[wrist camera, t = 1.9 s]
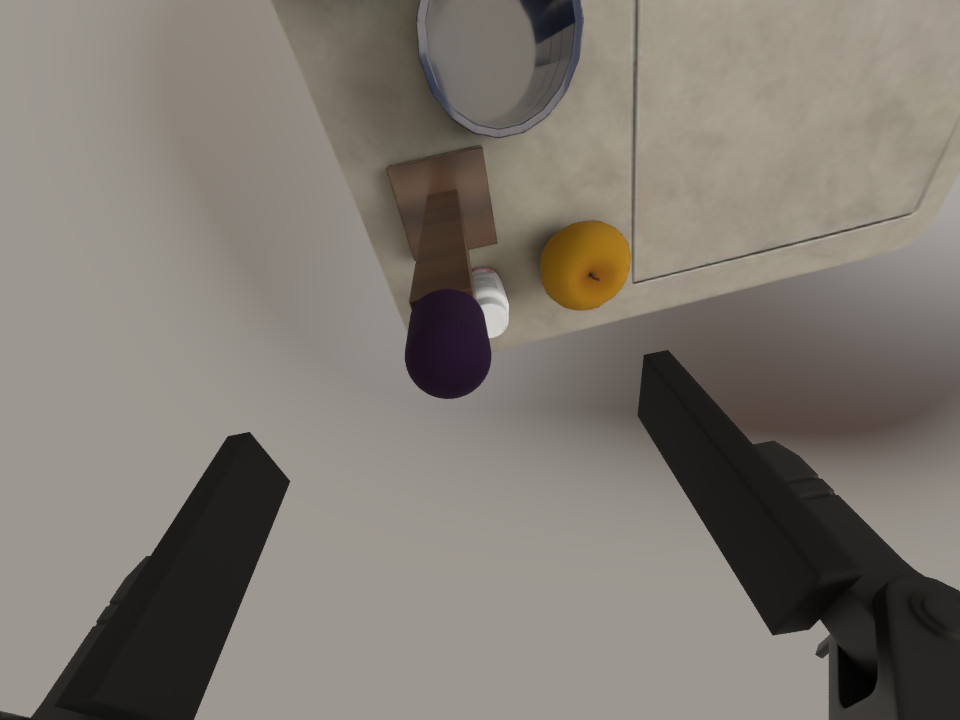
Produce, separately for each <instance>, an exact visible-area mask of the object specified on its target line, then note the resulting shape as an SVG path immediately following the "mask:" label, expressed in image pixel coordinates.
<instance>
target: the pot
mask: <svg viewBox="0 0 960 720" xmlns="http://www.w3.org/2000/svg"><path fill="white" fill-rule="evenodd" d="M416 20H417V21H416V25H417V37H418V49H419V59H420V63H421V65H422V68H423V71H424V73H425V76H426V79H427V82H428V84H429V87H430V90H431V92H432V94H433V95H434V97H435V98H436V99H437V101H438V102H439V103H440V105H441V106H442V107H443V109H444V110H445V111H446V113H447V114H448V115H449V117H450V118H451V119H453V120H454V121H456V122H457V123H459V124H460V125H462V126H463V127H465V128H466V129H468V130H469V131H471V132H472V133H475V134H480V135H485V136H490V137H495V138H502V137H507V136H511V135H516V134H520V133H524V132H526V131H527V130H529V129H530V128H532V127H533V126H535V125H536V124H538V123H539V122H540V121H542V120H543V119H545V118H546V117H547V116H548V115H549V114H550V113H551V111H552V110H553V109H554V108H555V106H556V105H557V104H558V102H559V101H560V100H561V98H562V97H563V96H564V94H565V93H566V91H567V89H568V87H569V84H570V82H571V79H572V77H573V74H574V72H575V69H576V66H577V64H578V61H579V58H580V50H581V42H582V33H583V24H584V21H583V20H584V17H583V10H582V4H581V0H420V2H419V7H418V13H417V18H416Z"/></svg>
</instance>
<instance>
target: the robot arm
mask: <svg viewBox="0 0 960 720" xmlns="http://www.w3.org/2000/svg"><path fill="white" fill-rule="evenodd" d="M638 417H639V419H640V420H641V422H642V424H643V425H644V427H645V429H646V430H647V432H648V433H649V435H650V437H651V438H652V440H653V442H654V443H655V445H656V446H657V448H658V450H659V451H660V453H661V455H662V456H663V458H664V459H665V461H666V463H667V464H668V466H669V468H670V469H671V471H672V472H673V474H674V476H675V477H676V479H677V481H678V482H679V484H680V485H681V487H682V489H683V490H684V492H685V494H686V495H687V497H688V498H689V500H690V501H691V503H692V505H693V507H694V508H695V510H696V511H697V513H698V515H699V516H700V518H701V520H702V521H703V523H704V524H705V526H706V528H707V529H708V531H709V532H710V534H711V536H712V537H713V539H714V541H715V542H716V544H717V545H718V547H719V549H720V551H721V552H722V554H723V555H724V557H725V559H726V560H727V562H728V564H729V565H730V567H731V568H732V570H733V572H734V573H735V575H736V576H737V578H738V580H739V581H740V583H741V585H742V586H743V588H744V590H745V591H746V593H747V594H748V596H749V598H750V599H751V601H752V602H753V604H754V606H755V607H756V609H757V611H758V612H759V614H760V616H761V617H762V619H763V620H764V622H765V624H766V625H767V627H768V628H769V630H770V632H771V633H772V635H778V634H784V633H791V632H797V631H803V630H809V629H810V628H811V627H812V626H813V625H814V624H815V623H816V622H817V621H818V620H819V619H820V620H821V621H822V623H823V624H824V625H825V627H826V628H827V630H828V631H829V632H830V635H829V636H828V637H827V638H826V639H825V640H824V641H822V642H821V643H820V644H819V645H818V648H817V651H816V655H817V656H819V657H820V658H823V657H825V656H826V655H827V654H828V653H829V720H960V591H959V590H956V589H955V588H953V587H950V586H948V585H946V584H944V583H942V582H940V581H938V580H936V579H932V578H929V577H925V576H923V575H922V574H920V573H918V572H917V571H916V570H914V569H913V568H912V567H911V566H910V565H909V564H907V563H906V562H905V561H904V560H902V558H901V557H900V556H899V555H898V554H897V553H896V552H895V551H894V550H893V549H892V548H891V547H890V546H889V545H888V544H887V543H886V542H884V541H883V539H882V538H881V537H879V535H878V534H877V533H876V532H874V530H873V529H871V527H870V526H869V525H868V524H867V523H866V522H865V521H864V520H863V519H862V518H861V517H860V516H859V515H858V514H857V513H855V512H854V510H853V509H852V508H851V507H850V506H849V505H848V504H846V502H845V501H844V500H842V499H841V497H840V496H839V495H835V493H834V490H833V489H831V487H830V486H829V485H827V483H826V482H824V480H823V479H820V478H819V477H818V474H817V473H816V472H815V471H814V470H812V468H810V466H808V464H806V462H805V461H804V460H803V459H802V458H801V457H800V456H798V455H797V454H795V453H794V452H792V451H790V450H788V449H787V448H785V447H784V446H782V445H780V444H779V443H777V442H775V441H770V442H764V443H759V444H752V443H751V442H750V441H749V440H748V439H747V437H746V436H745V435H744V434H743V433H742V432H741V431H740V430H739V429H738V427H737V426H736V425H735V424H734V423H733V422H732V421H731V420H730V419H729V417H728V416H727V415H726V414H725V413H724V412H723V411H722V410H721V408H720V407H718V405H717V404H716V403H715V402H714V401H713V400H712V398H711V397H710V396H709V395H708V394H707V393H706V392H705V391H704V390H703V389H702V387H701V386H700V385H699V384H698V383H697V382H696V381H695V380H694V379H693V377H692V376H691V375H690V374H689V373H688V372H687V371H686V370H685V368H684V367H683V366H682V365H681V364H680V363H679V362H678V361H677V360H676V358H675V357H674V356H673V355H672V354H671V353H670V352H669V351H668V350H666V351H661V352H656V353H651V354H646V355H644V359H643V368H642V378H641V388H640V397H639V407H638ZM289 483H290V480H289V479H288V478H287V477H286V476H285V474H284V473H283V472H282V471H281V470H280V468H279V467H278V466H277V465H276V463H275V462H274V461H273V460H272V459H271V457H270V456H269V455H268V454H267V452H266V451H265V450H264V449H263V448H262V446H261V445H260V444H259V443H258V442H257V441H256V439H255V438H254V437H253V435H252V434H251V433H250V432H247V433H242V434H238V435H232V436H228V437H227V438H226V440H225V441H224V443H223V445H222V446H221V448H220V449H219V451H218V452H217V454H216V455H215V457H214V459H213V460H212V462H211V463H210V465H209V466H208V468H207V469H206V471H205V472H204V474H203V476H202V477H201V479H200V480H199V482H198V483H197V485H196V486H195V488H194V490H193V491H192V493H191V494H190V496H189V497H188V499H187V500H186V502H185V504H184V505H183V507H182V508H181V510H180V511H179V513H178V514H177V516H176V517H175V519H174V521H173V522H172V524H171V525H170V527H169V528H168V530H167V531H166V533H165V534H164V536H163V538H162V539H161V541H160V542H159V544H158V545H157V547H156V548H155V550H154V552H153V553H152V555H151V556H146V557H145V558H144V559H143V560H142V561H141V562H140V563H139V565H137V567H136V568H135V569H134V570H133V571H132V572H131V573H130V574H129V575H128V576H127V577H126V578H125V580H124V581H123V583H122V584H121V585H120V587H119V588H118V590H117V591H116V593H115V594H114V596H113V597H112V599H111V601H110V605H109V606H107V607H106V608H105V610H104V611H103V612H102V614H101V615H100V617H99V618H98V620H97V621H96V622H97V625H96V626H94V627H92V629H91V631H90V632H89V633H88V635H87V636H86V638H85V639H84V641H83V643H82V644H81V646H80V647H79V648H78V650H77V651H76V653H75V654H74V656H73V657H72V659H71V660H70V662H69V663H68V665H67V666H66V668H65V669H64V671H63V672H62V674H61V675H60V677H59V678H58V680H57V681H56V683H55V684H54V686H53V687H52V689H51V690H50V692H49V693H48V695H47V696H46V698H45V699H44V701H43V702H42V704H41V705H40V706H39V708H38V709H37V710H36V712H35V713H34V714H33V716H32V717H31V718H28V717H24V716H19V715H15V714H11V713H7V712H2V711H0V720H194V718H195V715H196V713H197V711H198V708H199V706H200V703H201V701H202V698H203V696H204V693H205V691H206V688H207V686H208V683H209V681H210V678H211V676H212V674H213V671H214V669H215V666H216V663H217V661H218V658H219V656H220V654H221V651H222V649H223V646H224V644H225V641H226V639H227V636H228V634H229V632H230V629H231V627H232V624H233V622H234V619H235V617H236V614H237V612H238V609H239V607H240V604H241V602H242V599H243V597H244V594H245V592H246V589H247V587H248V584H249V582H250V579H251V577H252V574H253V572H254V570H255V567H256V565H257V562H258V560H259V557H260V555H261V552H262V550H263V547H264V545H265V542H266V540H267V538H268V535H269V533H270V530H271V528H272V525H273V522H274V520H275V518H276V515H277V513H278V510H279V507H280V505H281V503H282V500H283V498H284V496H285V493H286V491H287V488H288V486H289Z"/></svg>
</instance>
